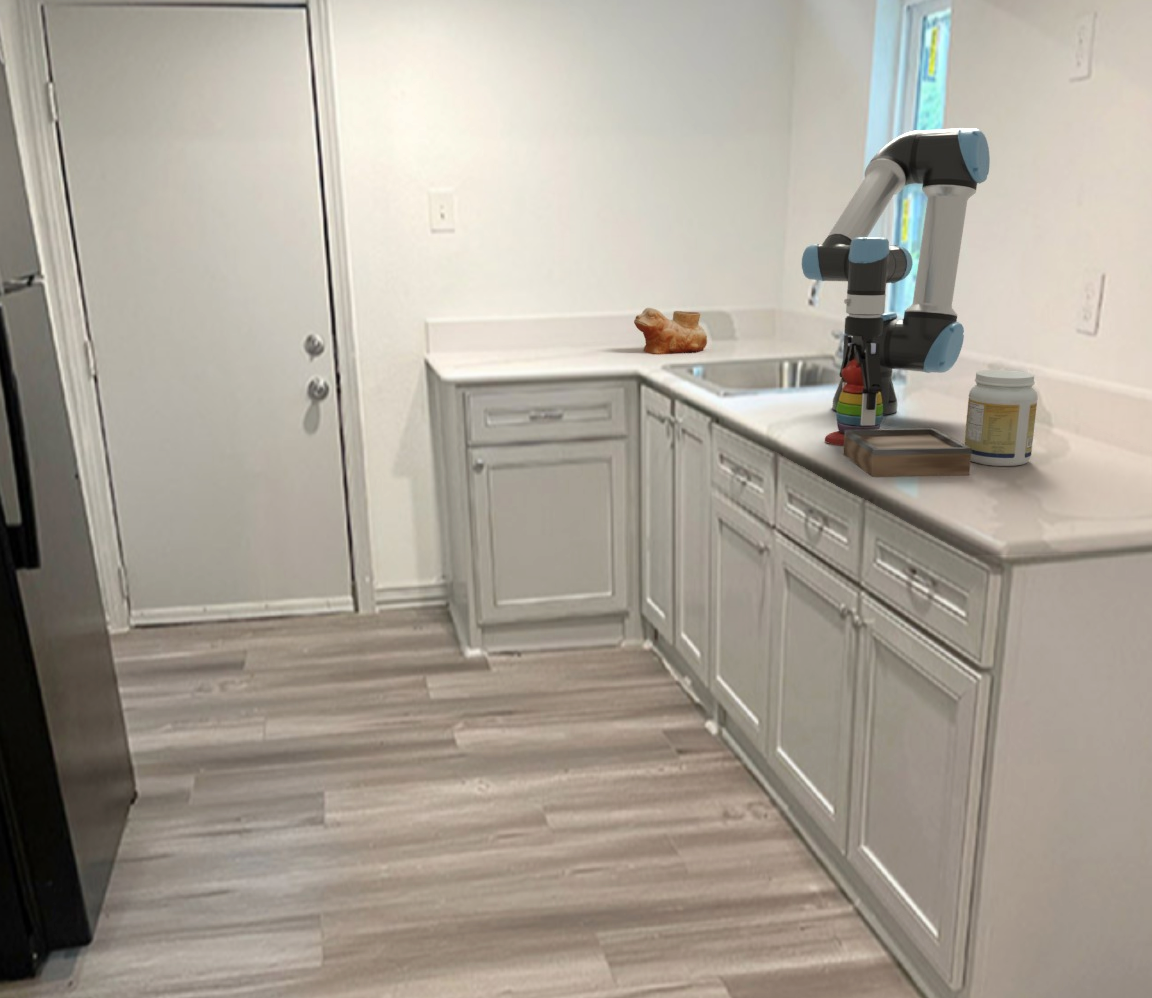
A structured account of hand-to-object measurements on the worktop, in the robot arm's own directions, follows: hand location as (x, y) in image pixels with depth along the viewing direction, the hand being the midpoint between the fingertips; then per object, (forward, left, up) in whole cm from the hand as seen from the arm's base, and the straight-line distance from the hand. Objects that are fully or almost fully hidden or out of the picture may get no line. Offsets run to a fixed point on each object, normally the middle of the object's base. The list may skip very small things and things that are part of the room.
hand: (857, 418), depth 218 cm
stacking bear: (0, 0, -5) cm, 5 cm away
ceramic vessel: (-145, -19, -5) cm, 146 cm away
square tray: (+20, +3, -5) cm, 21 cm away
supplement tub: (+18, +22, -5) cm, 29 cm away
